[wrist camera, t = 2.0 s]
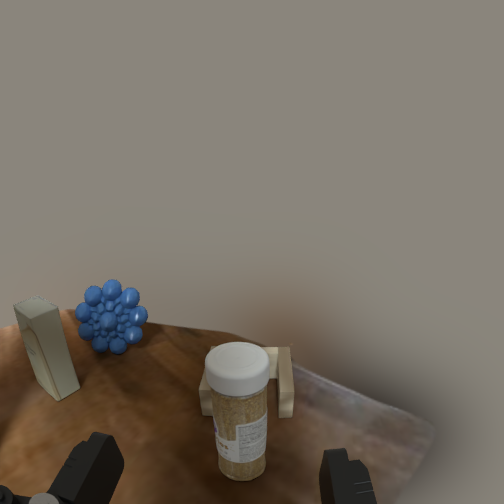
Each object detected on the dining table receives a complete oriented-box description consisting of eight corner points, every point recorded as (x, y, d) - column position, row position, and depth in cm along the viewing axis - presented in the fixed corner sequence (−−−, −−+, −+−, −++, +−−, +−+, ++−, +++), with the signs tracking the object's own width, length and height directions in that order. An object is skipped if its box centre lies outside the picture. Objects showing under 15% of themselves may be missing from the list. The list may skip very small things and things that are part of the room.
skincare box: (37, 383, 33) (10, 305, 30) (60, 370, 37) (37, 294, 34) (59, 403, 30) (28, 318, 27) (83, 388, 34) (58, 305, 31)
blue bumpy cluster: (156, 338, 48) (147, 268, 45) (152, 361, 42) (139, 284, 38) (91, 339, 46) (76, 272, 43) (80, 361, 40) (61, 287, 37)
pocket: (202, 415, 32) (198, 389, 30) (213, 370, 40) (211, 345, 39) (292, 417, 31) (294, 391, 30) (288, 371, 40) (289, 347, 39)
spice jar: (211, 456, 26) (196, 347, 22) (253, 443, 28) (252, 334, 24) (230, 489, 22) (217, 382, 18) (275, 473, 24) (282, 363, 20)
